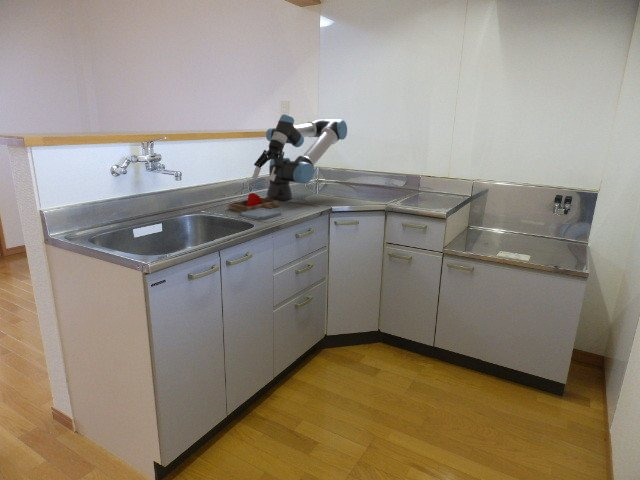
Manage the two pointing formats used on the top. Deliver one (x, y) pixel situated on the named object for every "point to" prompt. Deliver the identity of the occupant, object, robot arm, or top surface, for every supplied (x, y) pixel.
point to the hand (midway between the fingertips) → (262, 179)
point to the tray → (260, 213)
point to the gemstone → (254, 200)
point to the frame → (242, 205)
